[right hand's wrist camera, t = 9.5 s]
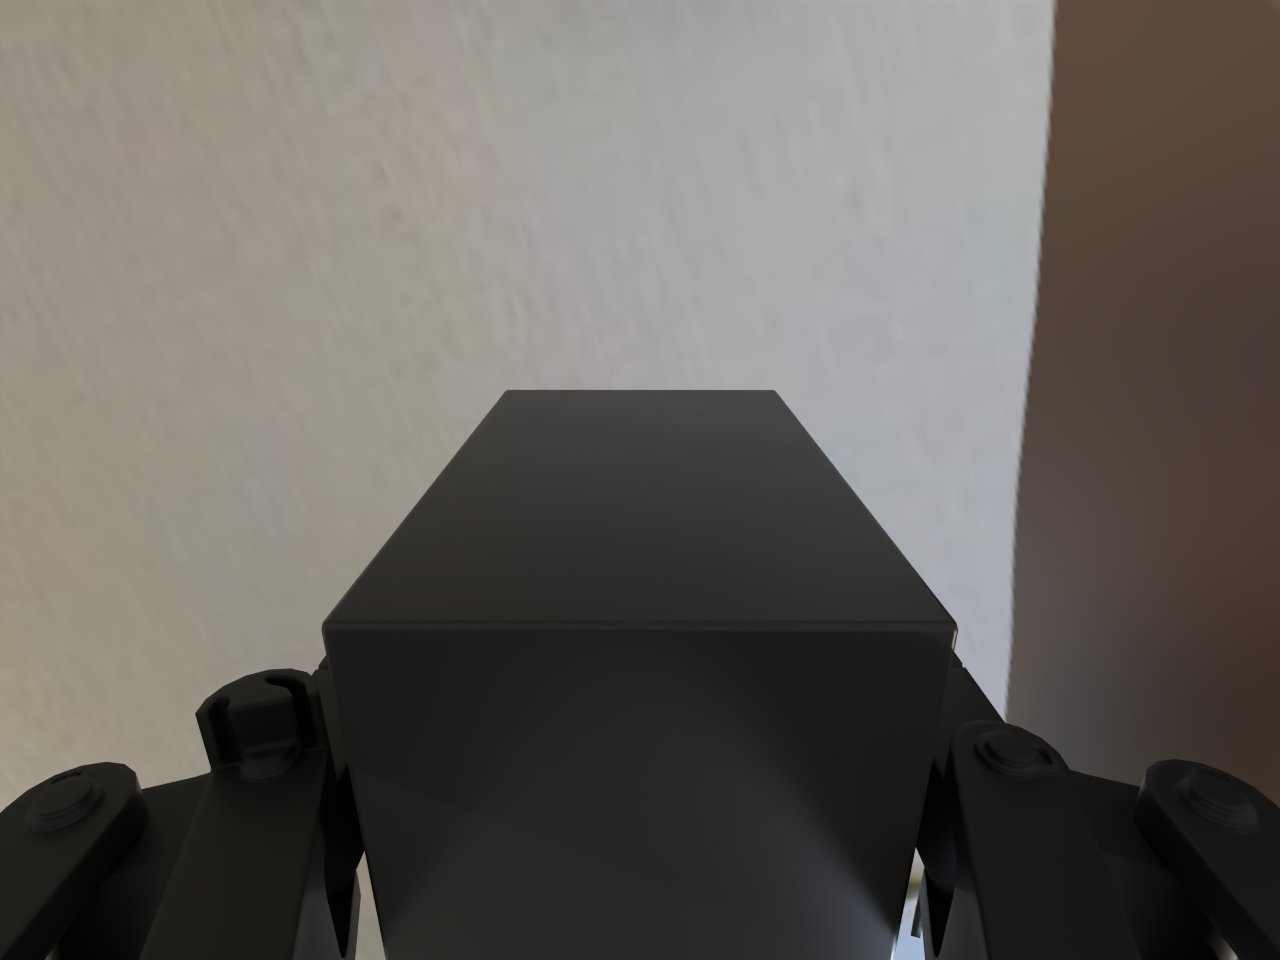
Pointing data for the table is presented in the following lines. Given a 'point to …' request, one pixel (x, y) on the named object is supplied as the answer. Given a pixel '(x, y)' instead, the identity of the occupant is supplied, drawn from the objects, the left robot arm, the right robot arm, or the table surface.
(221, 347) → the table surface
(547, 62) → the table surface
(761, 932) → the bar
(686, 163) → the table surface
